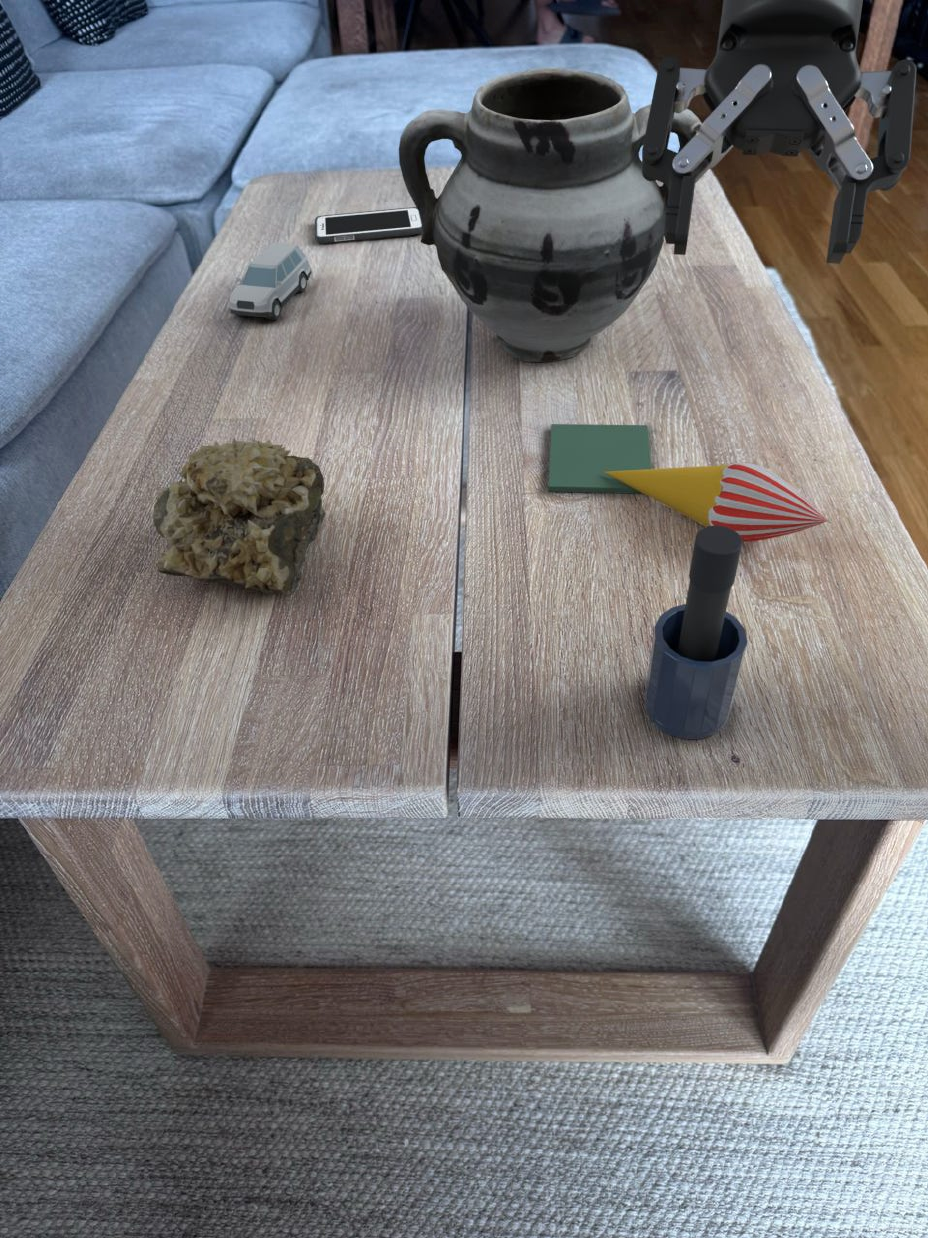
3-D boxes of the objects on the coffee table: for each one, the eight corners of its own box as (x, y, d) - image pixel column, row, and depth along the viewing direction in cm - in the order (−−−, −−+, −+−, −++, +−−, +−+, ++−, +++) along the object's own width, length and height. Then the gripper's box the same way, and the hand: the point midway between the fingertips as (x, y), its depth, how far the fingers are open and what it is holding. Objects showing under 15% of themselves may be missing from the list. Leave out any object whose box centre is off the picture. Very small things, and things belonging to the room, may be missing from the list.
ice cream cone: (612, 509, 83) (830, 563, 71) (575, 504, 78) (802, 560, 66) (629, 441, 82) (853, 484, 70) (592, 431, 77) (827, 475, 65)
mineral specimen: (123, 600, 72) (80, 498, 65) (193, 502, 81) (162, 404, 74) (295, 623, 69) (270, 519, 62) (348, 519, 78) (331, 418, 71)
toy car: (226, 324, 105) (216, 282, 102) (274, 277, 114) (266, 237, 111) (271, 329, 104) (263, 286, 100) (316, 281, 113) (310, 240, 109)
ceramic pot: (672, 295, 105) (702, 47, 88) (689, 399, 89) (730, 120, 72) (427, 296, 108) (409, 56, 91) (400, 397, 92) (372, 127, 74)
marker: (705, 687, 62) (739, 525, 52) (709, 717, 60) (745, 554, 50) (666, 685, 62) (693, 524, 52) (669, 715, 60) (697, 553, 50)
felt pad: (646, 430, 86) (647, 424, 85) (652, 493, 78) (653, 488, 78) (551, 429, 86) (551, 423, 86) (548, 491, 79) (548, 486, 79)
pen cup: (724, 677, 63) (741, 604, 58) (733, 741, 59) (752, 668, 54) (642, 674, 64) (652, 601, 59) (646, 737, 60) (657, 665, 55)
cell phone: (425, 234, 121) (424, 227, 121) (315, 244, 121) (314, 237, 120) (420, 213, 127) (419, 206, 126) (315, 223, 126) (314, 215, 125)
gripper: (669, -82, 49) (629, 218, 49) (954, -87, 46) (911, 231, 46) (666, 12, 56) (631, 272, 56) (911, 13, 53) (874, 286, 54)
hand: (757, 253), depth 51 cm, fingers open, 8 cm apart
